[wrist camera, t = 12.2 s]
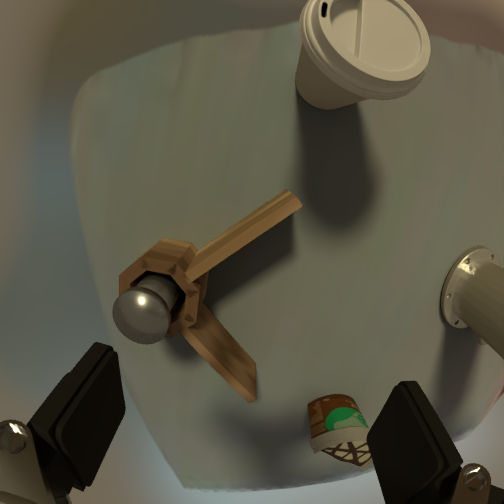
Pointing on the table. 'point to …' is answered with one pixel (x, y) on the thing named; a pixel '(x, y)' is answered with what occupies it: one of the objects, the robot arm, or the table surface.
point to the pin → (146, 308)
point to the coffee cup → (359, 51)
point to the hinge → (195, 284)
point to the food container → (339, 429)
